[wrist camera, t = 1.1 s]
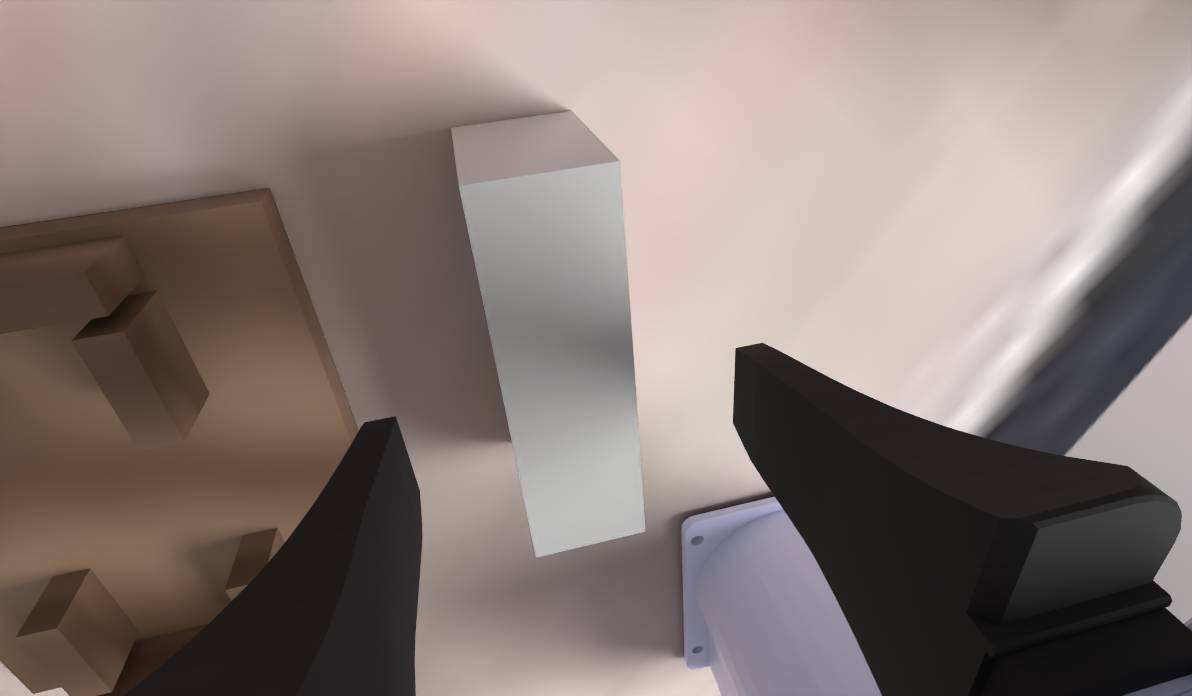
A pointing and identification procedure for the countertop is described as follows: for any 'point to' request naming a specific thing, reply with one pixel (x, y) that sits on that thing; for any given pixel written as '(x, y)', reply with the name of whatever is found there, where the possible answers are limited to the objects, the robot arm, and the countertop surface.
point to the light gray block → (557, 320)
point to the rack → (151, 430)
